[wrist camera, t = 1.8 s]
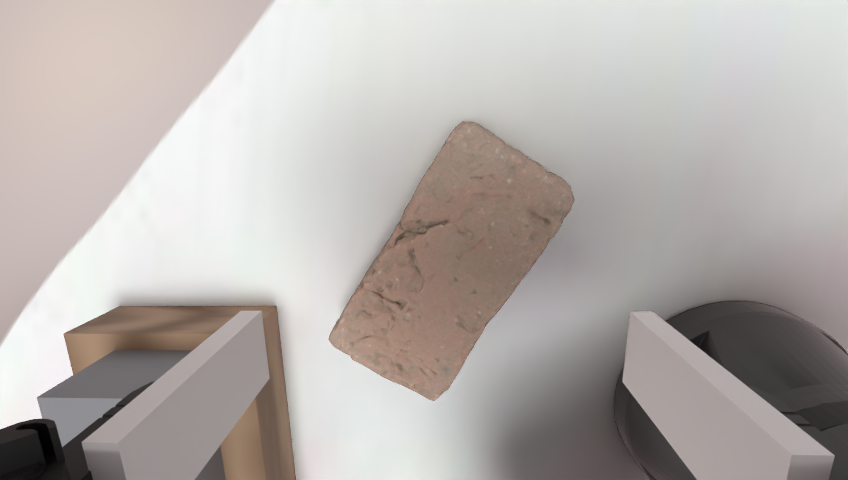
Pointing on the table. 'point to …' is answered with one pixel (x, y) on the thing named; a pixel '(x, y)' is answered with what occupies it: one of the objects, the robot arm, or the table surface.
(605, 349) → the table surface
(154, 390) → the robot arm
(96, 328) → the tower base
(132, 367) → the tower top
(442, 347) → the brick
